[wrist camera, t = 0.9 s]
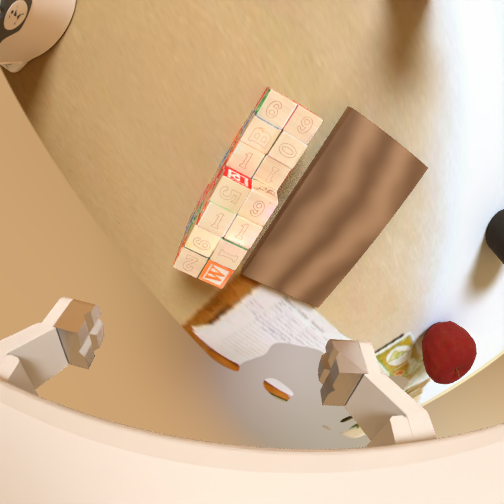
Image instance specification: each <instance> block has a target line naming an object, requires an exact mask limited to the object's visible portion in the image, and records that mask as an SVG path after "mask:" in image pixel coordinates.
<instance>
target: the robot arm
mask: <svg viewBox="0 0 504 504" xmlns="http://www.w3.org/2000/svg"><path fill="white" fill-rule="evenodd" d="M75 3H76V0H0V65H1V66H3V67H4V68H6V69H7V70H9V71H10V72H18V71H20V70H21V69H22V68H23V67H24V66H25V65H26V64H27V62H28V61H30V60H31V59H33V58H35V57H37V56H39V55H41V54H43V53H44V52H46V51H47V50H49V49H50V48H51V47H52V46H53V45H54V44H55V43H56V42H57V41H58V40H59V38H60V37H61V36H62V34H63V33H64V31H65V30H66V28H67V26H68V24H69V22H70V20H71V18H72V15H73V12H74V8H75ZM100 315H101V312H100V308H99V306H97V305H94V304H90V303H86V302H82V301H79V300H75V299H74V300H73V299H70V298H66V297H62V298H60V299H59V301H58V302H57V303H56V305H55V306H54V307H53V308H52V310H51V311H50V312H49V314H48V315H47V316H46V318H45V319H44V321H43V322H42V323H36V324H34V325H32V326H30V327H28V328H26V329H24V330H22V331H20V332H17V333H15V334H13V335H11V336H9V337H7V338H5V339H3V340H1V341H0V504H504V423H502V424H498V425H495V426H491V427H487V428H484V429H480V430H476V431H472V432H467V433H463V434H458V435H454V436H449V437H443V438H438V439H437V438H436V435H435V433H434V429H433V426H432V423H431V421H430V418H429V415H428V412H427V411H426V410H425V409H423V408H422V407H421V406H420V405H419V404H418V403H417V402H416V401H414V400H413V399H412V398H411V397H410V396H409V395H408V394H407V393H405V392H404V391H403V390H402V389H401V388H400V387H399V386H398V385H396V384H395V383H394V382H393V381H392V380H391V379H390V378H389V377H388V376H386V375H385V374H381V371H380V368H379V365H378V362H377V359H376V356H375V353H374V350H373V347H372V344H371V342H370V341H352V340H335V339H330V340H329V341H328V342H327V345H326V352H327V353H325V354H324V355H322V357H321V360H320V363H319V368H318V376H319V381H320V382H321V383H322V384H323V386H322V388H321V398H322V405H333V406H345V408H346V409H347V411H348V412H349V413H350V414H351V416H352V417H353V418H354V420H355V421H356V422H357V424H358V425H359V426H360V427H361V429H362V430H363V431H364V432H365V434H366V435H367V436H368V438H369V439H370V440H371V442H370V443H369V444H368V445H367V446H366V447H365V448H348V449H281V448H263V447H250V446H240V445H229V444H221V443H213V442H207V441H199V440H193V439H187V438H182V437H177V436H171V435H166V434H161V433H157V432H152V431H147V430H143V429H139V428H135V427H130V426H127V425H123V424H119V423H116V422H112V421H108V420H105V419H102V418H98V417H95V416H92V415H89V414H86V413H83V412H80V411H76V410H74V409H71V408H68V407H65V406H62V405H60V404H57V403H54V402H52V401H49V400H47V399H44V398H42V397H39V396H38V394H37V392H36V391H35V389H37V388H38V387H39V386H41V385H42V384H43V383H45V382H46V381H48V380H49V379H50V378H51V377H53V376H54V375H56V374H57V373H59V372H60V371H61V370H63V369H64V368H65V367H67V366H68V365H69V364H71V365H75V366H78V367H82V368H86V369H89V367H90V365H91V363H92V361H93V359H94V357H95V355H94V350H96V349H98V348H99V347H100V345H101V343H102V340H103V336H104V327H103V323H102V322H101V321H100V319H99V316H100Z"/></svg>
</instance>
